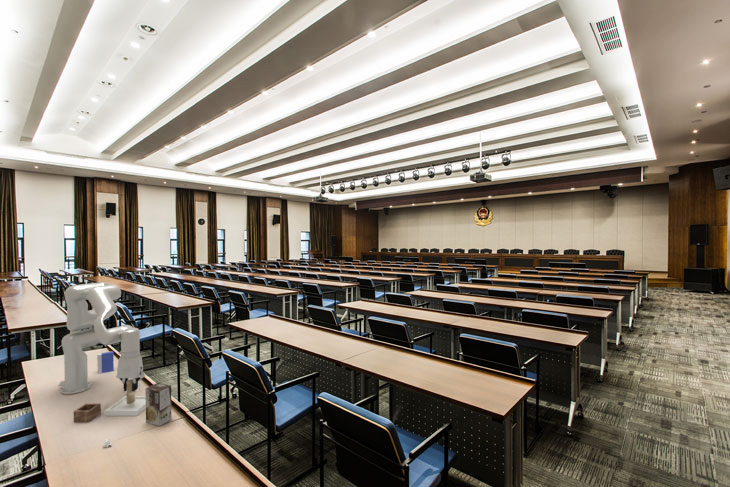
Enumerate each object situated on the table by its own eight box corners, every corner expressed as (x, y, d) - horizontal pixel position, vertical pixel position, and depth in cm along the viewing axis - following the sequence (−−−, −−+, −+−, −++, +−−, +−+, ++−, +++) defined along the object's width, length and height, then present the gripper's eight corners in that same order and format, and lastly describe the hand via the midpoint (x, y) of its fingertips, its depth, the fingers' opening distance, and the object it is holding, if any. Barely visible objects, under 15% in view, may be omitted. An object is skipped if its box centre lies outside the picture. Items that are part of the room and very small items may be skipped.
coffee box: (172, 419, 158) (172, 385, 157) (159, 426, 152) (159, 391, 151) (157, 415, 161) (157, 382, 160) (145, 422, 155) (144, 388, 154)
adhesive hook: (110, 444, 139) (110, 437, 139) (112, 447, 138) (112, 439, 138) (101, 448, 137) (101, 440, 137) (103, 450, 135) (103, 443, 135)
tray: (104, 415, 159) (104, 410, 159) (125, 400, 173) (125, 396, 173) (137, 415, 160) (137, 410, 160) (154, 400, 174) (154, 396, 174)
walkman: (113, 369, 211) (113, 350, 210) (113, 370, 209) (113, 351, 208) (97, 372, 206) (97, 353, 206) (97, 374, 204) (97, 354, 204)
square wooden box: (73, 422, 154) (73, 411, 153) (86, 413, 161) (85, 403, 160) (89, 422, 154) (89, 411, 154) (100, 413, 161) (100, 403, 161)
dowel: (125, 404, 165) (124, 382, 164) (129, 400, 168) (129, 378, 168) (132, 404, 165) (131, 382, 164) (136, 400, 168) (136, 378, 168)
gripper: (107, 356, 162) (108, 393, 162) (142, 356, 162) (142, 393, 163) (118, 350, 169) (119, 386, 170) (152, 351, 170) (152, 386, 170)
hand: (130, 389), depth 166 cm, fingers closed on dowel, 3 cm apart
